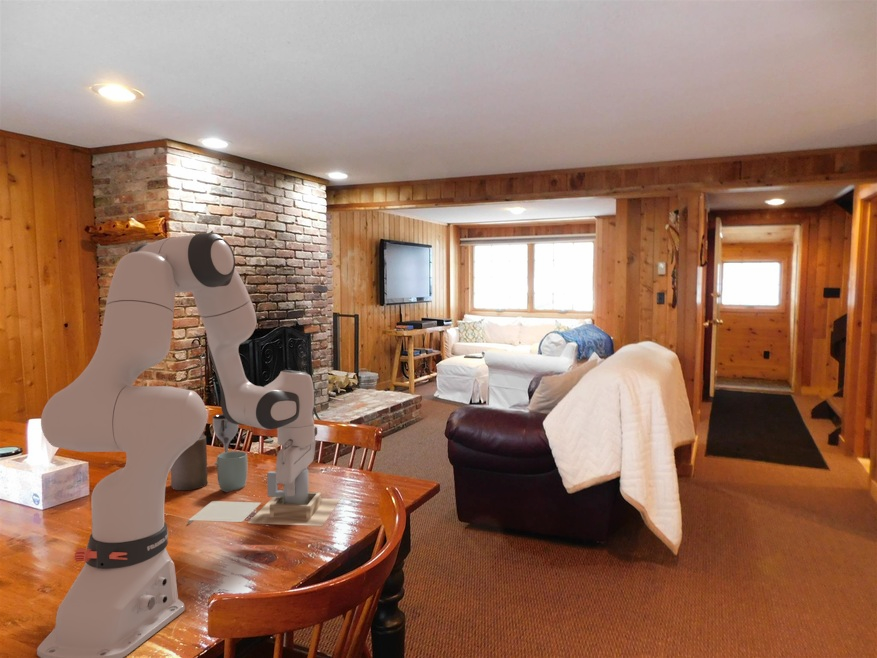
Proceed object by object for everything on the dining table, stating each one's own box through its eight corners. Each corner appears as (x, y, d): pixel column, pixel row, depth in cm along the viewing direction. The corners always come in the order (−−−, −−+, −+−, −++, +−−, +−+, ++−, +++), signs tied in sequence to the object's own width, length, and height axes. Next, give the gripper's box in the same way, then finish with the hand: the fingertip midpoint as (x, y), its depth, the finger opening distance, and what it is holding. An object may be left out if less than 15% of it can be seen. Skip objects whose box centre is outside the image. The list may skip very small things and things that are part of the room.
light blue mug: (304, 515, 145) (304, 474, 144) (264, 513, 145) (264, 473, 145) (311, 506, 151) (311, 467, 150) (272, 505, 151) (272, 466, 151)
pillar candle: (213, 480, 174) (212, 429, 173) (197, 491, 164) (195, 437, 163) (182, 479, 175) (180, 429, 174) (163, 490, 165) (162, 436, 164)
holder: (322, 530, 139) (322, 513, 138) (247, 527, 140) (246, 510, 139) (340, 502, 156) (340, 487, 156) (273, 500, 158) (273, 485, 157)
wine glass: (212, 460, 194) (211, 414, 193) (237, 457, 198) (237, 413, 197) (214, 467, 187) (213, 419, 186) (240, 464, 190) (240, 417, 189)
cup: (238, 495, 161) (237, 459, 160) (212, 493, 163) (211, 457, 162) (252, 486, 169) (252, 452, 168) (227, 484, 170) (227, 450, 170)
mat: (241, 526, 140) (241, 522, 140) (188, 524, 141) (188, 520, 141) (261, 506, 153) (261, 502, 153) (212, 504, 154) (212, 500, 154)
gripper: (295, 446, 136) (295, 505, 137) (319, 426, 157) (319, 478, 158) (268, 445, 137) (269, 504, 138) (295, 425, 157) (296, 477, 158)
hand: (296, 490), depth 148 cm, fingers closed on light blue mug, 6 cm apart
